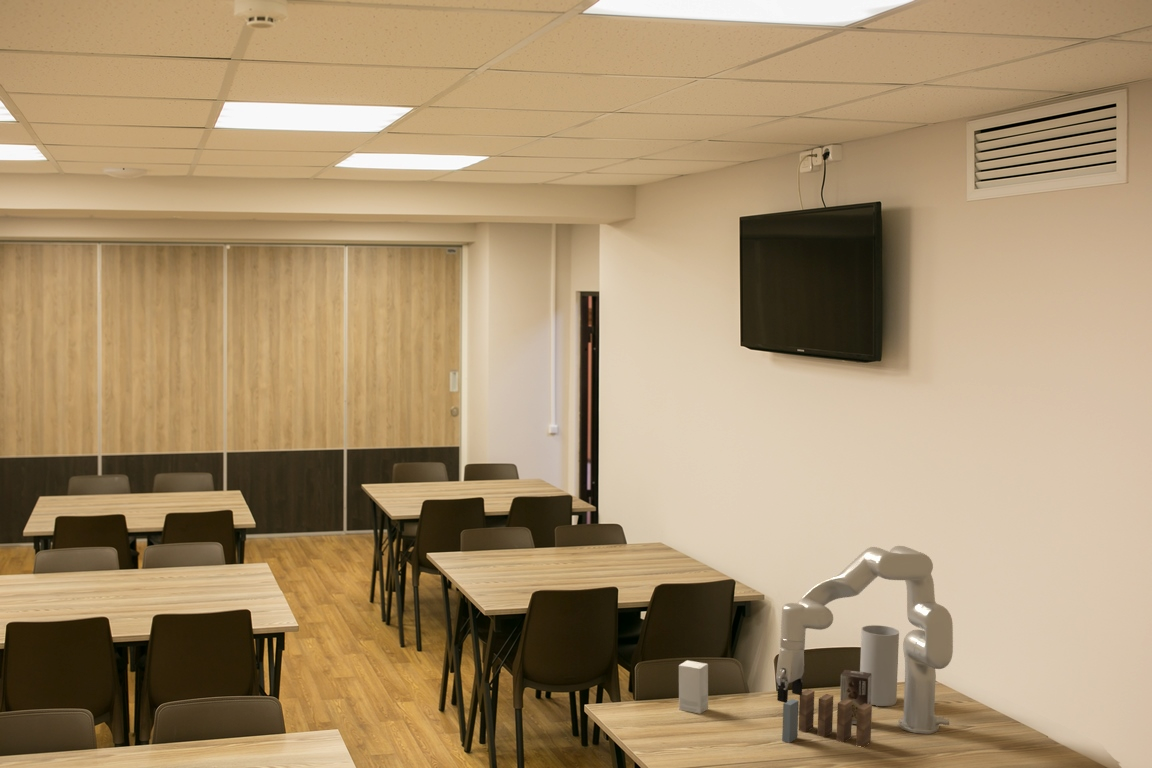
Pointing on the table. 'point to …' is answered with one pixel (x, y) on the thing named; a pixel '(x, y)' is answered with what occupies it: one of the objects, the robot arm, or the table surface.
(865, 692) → the coffee box
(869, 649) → the cylinder vase
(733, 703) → the table surface
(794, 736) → the tile
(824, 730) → the domino
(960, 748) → the table surface
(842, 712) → the domino
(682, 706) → the skincare box
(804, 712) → the domino
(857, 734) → the domino
